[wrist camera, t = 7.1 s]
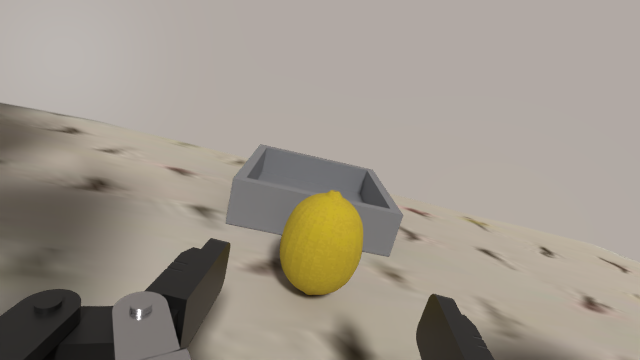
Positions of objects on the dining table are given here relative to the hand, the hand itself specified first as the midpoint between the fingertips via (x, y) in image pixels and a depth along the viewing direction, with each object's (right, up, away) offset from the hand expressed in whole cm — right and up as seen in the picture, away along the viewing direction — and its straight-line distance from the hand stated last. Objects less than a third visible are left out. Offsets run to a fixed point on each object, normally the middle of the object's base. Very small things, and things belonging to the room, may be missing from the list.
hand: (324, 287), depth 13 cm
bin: (-1, +1, +26) cm, 26 cm away
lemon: (-1, -4, +11) cm, 12 cm away
